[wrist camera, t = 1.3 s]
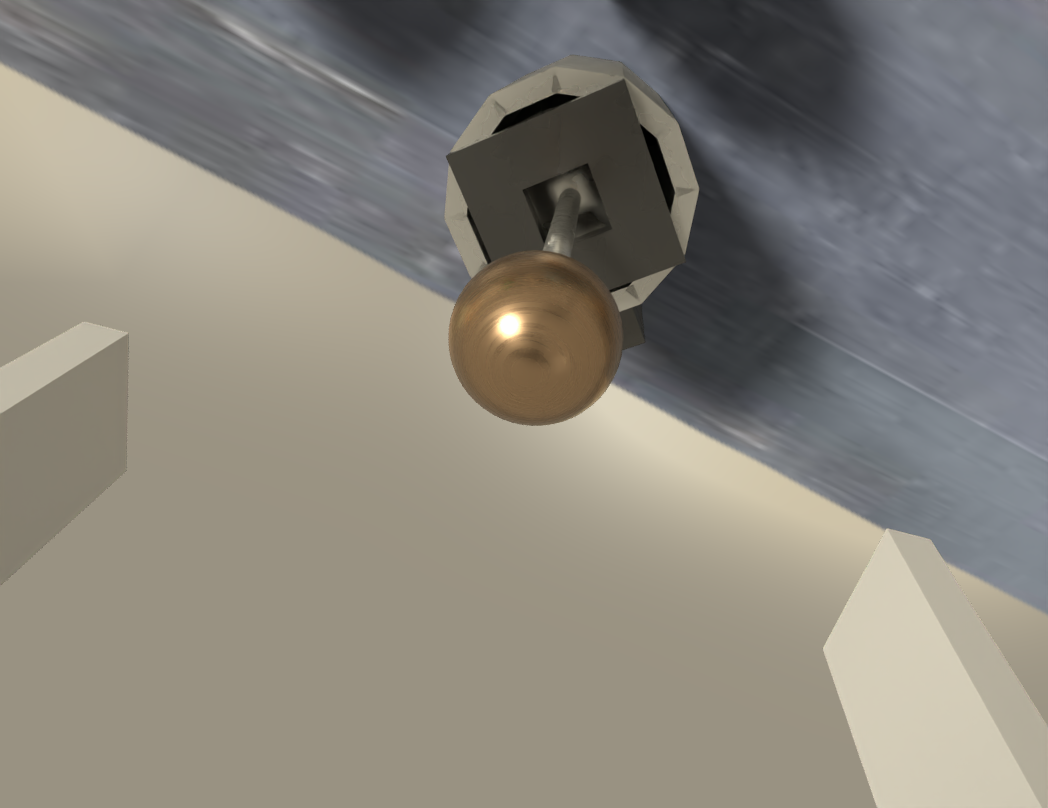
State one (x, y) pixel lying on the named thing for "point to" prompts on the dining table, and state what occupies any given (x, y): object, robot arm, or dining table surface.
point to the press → (562, 145)
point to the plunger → (541, 317)
